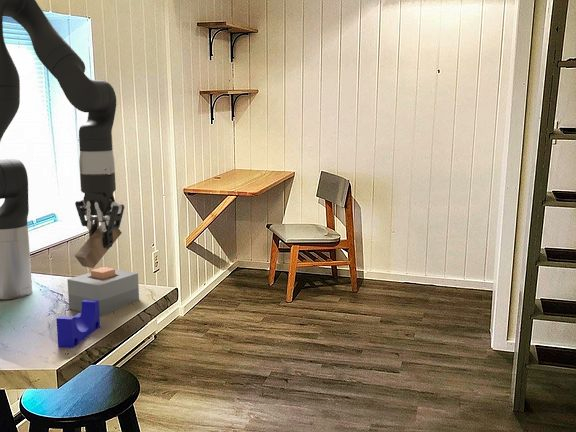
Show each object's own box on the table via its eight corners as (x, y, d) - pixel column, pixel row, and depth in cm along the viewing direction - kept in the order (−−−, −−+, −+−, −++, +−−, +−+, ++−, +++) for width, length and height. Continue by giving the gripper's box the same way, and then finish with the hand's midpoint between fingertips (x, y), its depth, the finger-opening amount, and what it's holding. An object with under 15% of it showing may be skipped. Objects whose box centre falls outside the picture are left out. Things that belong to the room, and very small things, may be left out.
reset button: (91, 284, 147) (90, 270, 146) (104, 280, 150) (103, 266, 149) (103, 286, 145) (102, 272, 144) (115, 282, 148) (115, 269, 147)
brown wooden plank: (74, 255, 142) (103, 220, 148) (82, 266, 144) (111, 231, 150) (85, 257, 140) (114, 222, 146) (93, 268, 142) (121, 232, 148)
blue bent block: (79, 326, 135) (78, 299, 134) (100, 327, 134) (98, 300, 133) (51, 347, 123) (48, 318, 122) (72, 349, 123) (71, 319, 121)
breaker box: (69, 308, 146) (67, 279, 144) (109, 295, 156) (107, 267, 155) (100, 316, 141) (98, 285, 139) (139, 302, 151) (137, 273, 149)
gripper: (62, 170, 143) (67, 246, 146) (106, 174, 136) (111, 253, 139) (88, 168, 150) (92, 240, 152) (132, 171, 142) (136, 246, 145)
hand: (101, 246), depth 146 cm, fingers closed on brown wooden plank, 3 cm apart
